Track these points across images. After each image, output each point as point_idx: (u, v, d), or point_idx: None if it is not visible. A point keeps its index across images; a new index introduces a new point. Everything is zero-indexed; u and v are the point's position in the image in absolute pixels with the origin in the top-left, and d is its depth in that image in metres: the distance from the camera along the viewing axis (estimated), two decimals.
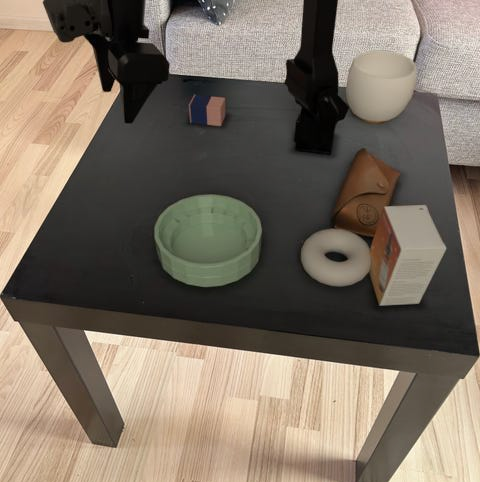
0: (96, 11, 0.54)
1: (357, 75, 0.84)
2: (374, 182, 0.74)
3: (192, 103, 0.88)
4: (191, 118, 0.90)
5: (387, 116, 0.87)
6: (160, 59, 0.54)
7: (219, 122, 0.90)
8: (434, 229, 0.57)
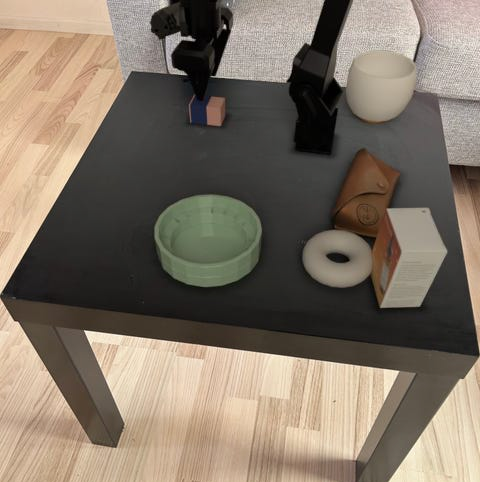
0: (177, 18, 0.76)
1: (357, 75, 0.84)
2: (374, 182, 0.74)
3: (192, 103, 0.88)
4: (191, 118, 0.90)
5: (387, 116, 0.87)
6: (199, 55, 0.73)
7: (219, 122, 0.90)
8: (436, 232, 0.57)
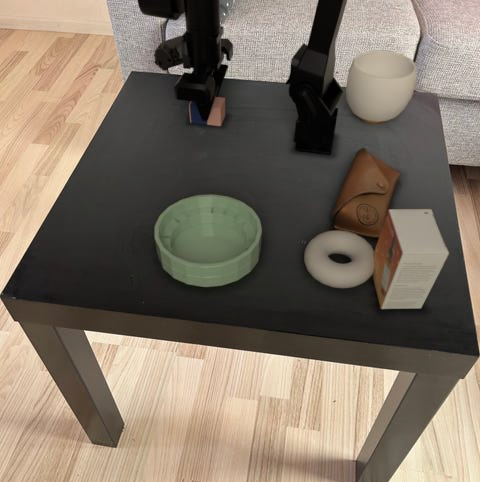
0: (180, 51, 0.80)
1: (357, 75, 0.84)
2: (374, 182, 0.74)
3: (192, 103, 0.88)
4: (191, 118, 0.90)
5: (387, 116, 0.87)
6: (201, 87, 0.78)
7: (219, 122, 0.90)
8: (438, 234, 0.57)
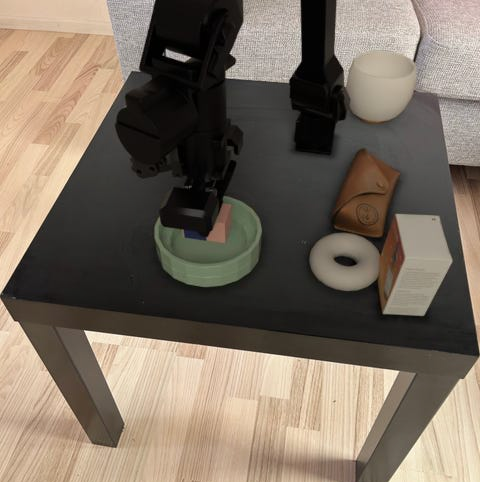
0: (168, 156, 0.55)
1: (357, 75, 0.84)
2: (374, 182, 0.74)
3: None
4: (184, 232, 0.65)
5: (387, 116, 0.87)
6: (198, 214, 0.52)
7: (223, 239, 0.64)
8: (443, 241, 0.56)
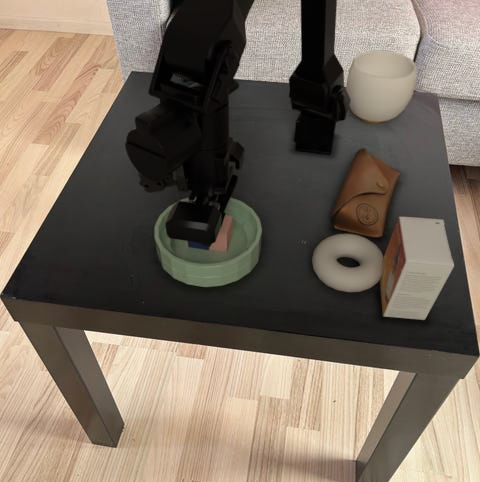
0: (174, 172, 0.59)
1: (357, 75, 0.84)
2: (374, 182, 0.74)
3: None
4: (188, 242, 0.69)
5: (387, 116, 0.87)
6: (202, 227, 0.56)
7: (225, 248, 0.68)
8: (446, 245, 0.56)
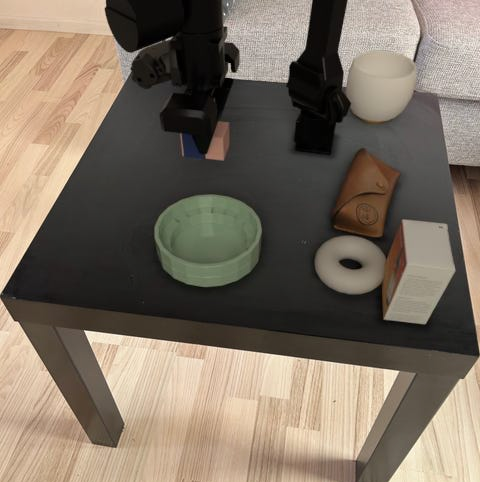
0: (167, 63, 0.57)
1: (357, 75, 0.84)
2: (373, 182, 0.74)
3: None
4: (184, 150, 0.67)
5: (387, 116, 0.87)
6: (198, 115, 0.54)
7: (221, 155, 0.66)
8: (448, 249, 0.55)
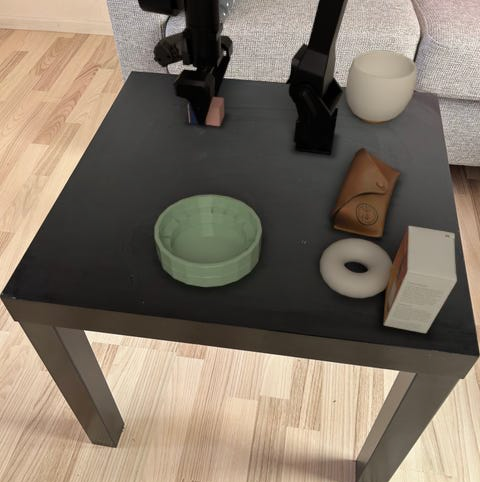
0: (179, 48, 0.80)
1: (357, 75, 0.84)
2: (373, 182, 0.74)
3: None
4: (190, 118, 0.90)
5: (387, 116, 0.87)
6: (201, 84, 0.77)
7: (218, 122, 0.90)
8: (452, 259, 0.54)
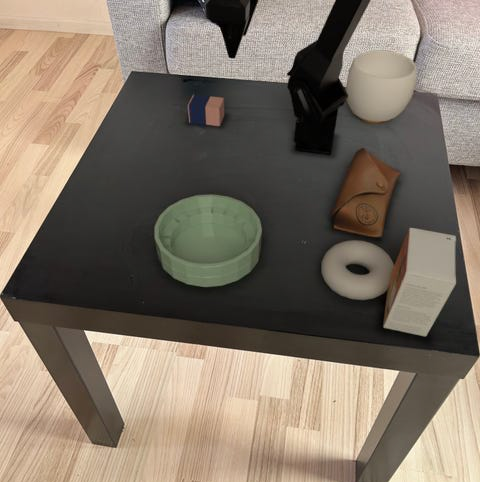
0: None
1: (357, 75, 0.84)
2: (373, 181, 0.74)
3: (191, 103, 0.88)
4: (190, 118, 0.90)
5: (387, 116, 0.87)
6: (236, 4, 0.71)
7: (218, 122, 0.90)
8: (452, 261, 0.54)
